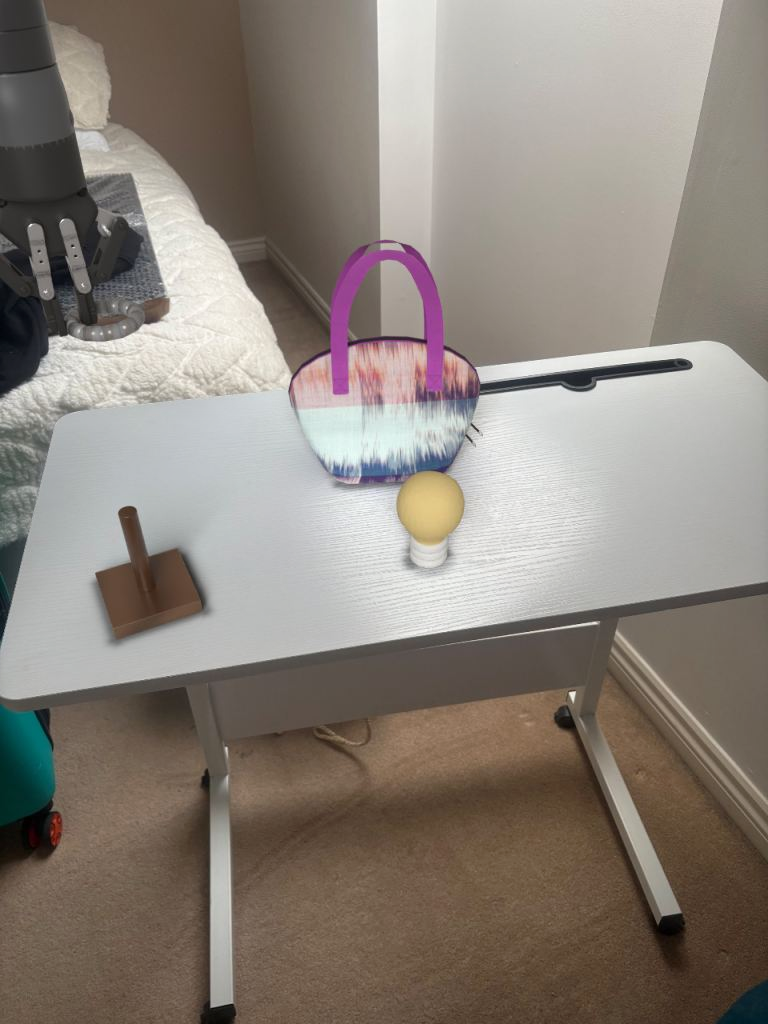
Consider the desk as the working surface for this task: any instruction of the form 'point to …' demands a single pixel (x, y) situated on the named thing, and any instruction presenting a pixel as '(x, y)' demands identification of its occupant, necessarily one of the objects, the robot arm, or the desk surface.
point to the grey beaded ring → (106, 331)
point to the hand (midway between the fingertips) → (74, 330)
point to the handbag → (385, 388)
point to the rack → (146, 584)
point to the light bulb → (430, 515)
